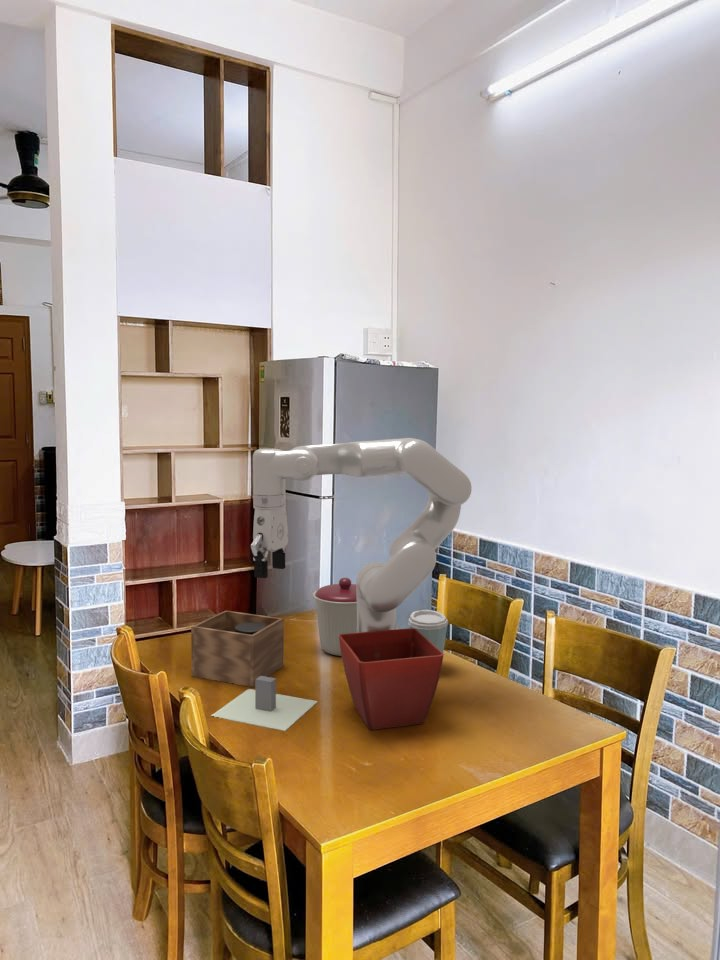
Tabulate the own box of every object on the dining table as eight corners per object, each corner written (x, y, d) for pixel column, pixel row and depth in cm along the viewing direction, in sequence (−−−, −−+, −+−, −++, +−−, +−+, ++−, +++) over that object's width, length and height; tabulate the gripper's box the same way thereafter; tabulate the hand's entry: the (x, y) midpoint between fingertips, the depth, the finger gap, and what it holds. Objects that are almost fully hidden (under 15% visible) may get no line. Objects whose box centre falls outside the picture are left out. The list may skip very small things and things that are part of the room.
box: (283, 665, 193) (283, 618, 192) (253, 687, 178) (253, 636, 177) (225, 656, 200) (225, 610, 198) (191, 676, 185) (191, 626, 184)
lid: (317, 704, 170) (317, 672, 169) (285, 734, 155) (285, 699, 154) (248, 691, 177) (248, 661, 176) (210, 718, 162) (210, 685, 161)
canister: (379, 642, 214) (380, 572, 211) (371, 663, 196) (372, 587, 194) (319, 638, 216) (320, 569, 214) (306, 659, 198) (306, 584, 196)
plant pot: (358, 739, 152) (359, 661, 150) (336, 703, 170) (337, 633, 168) (443, 729, 157) (445, 654, 155) (413, 695, 175) (415, 627, 173)
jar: (245, 680, 183) (245, 634, 182) (227, 671, 189) (227, 626, 187) (273, 671, 189) (274, 626, 188) (255, 663, 195) (255, 619, 194)
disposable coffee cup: (455, 673, 189) (456, 617, 188) (419, 679, 185) (420, 622, 183) (433, 660, 199) (435, 607, 197) (399, 666, 194) (400, 611, 193)
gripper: (267, 507, 160) (268, 582, 162) (298, 497, 177) (299, 566, 179) (237, 505, 163) (238, 580, 165) (270, 496, 179) (271, 564, 181)
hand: (270, 572), depth 172 cm, fingers open, 9 cm apart
